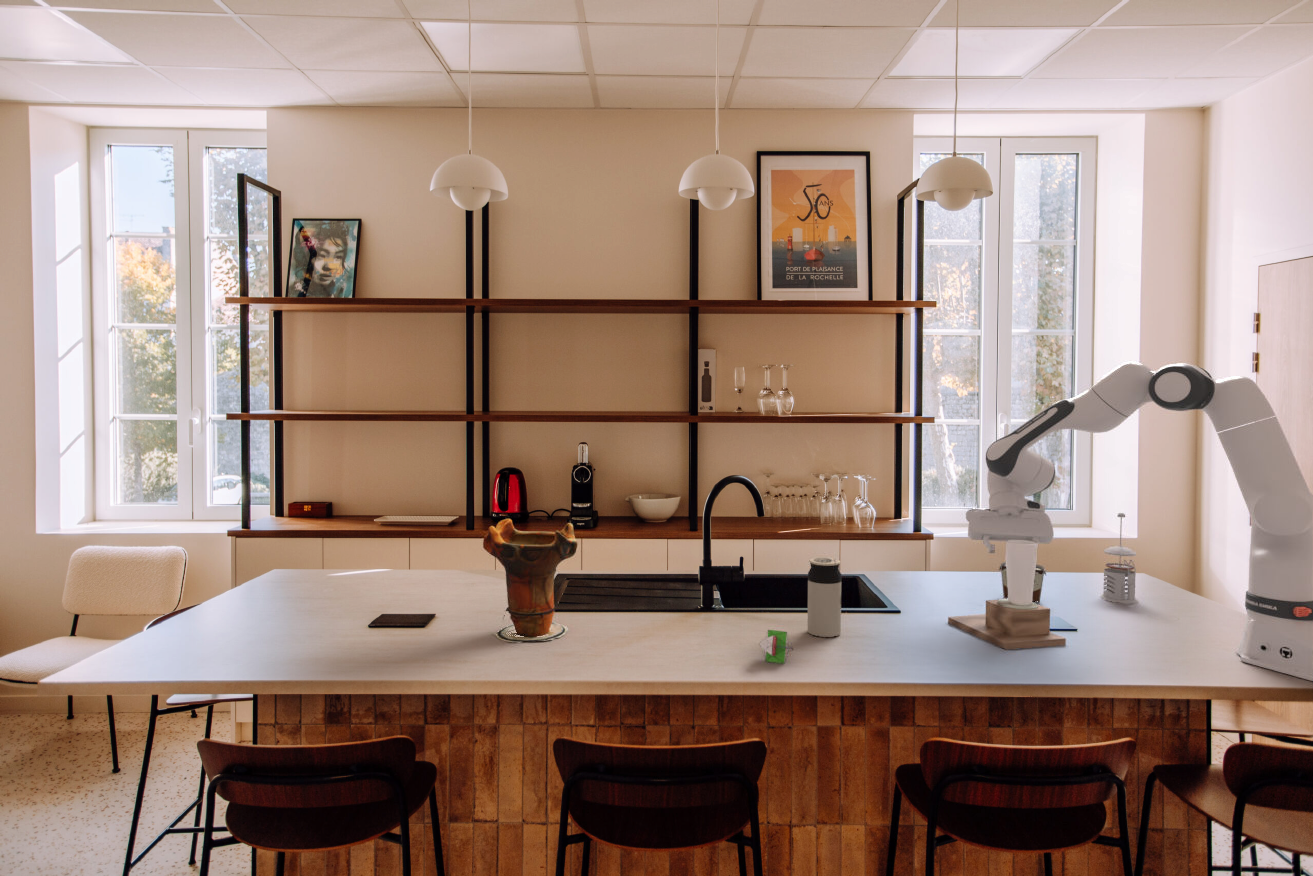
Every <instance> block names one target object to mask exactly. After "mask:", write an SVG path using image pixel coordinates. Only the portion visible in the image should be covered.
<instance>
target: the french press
mask: <svg viewBox="0 0 1313 876" xmlns="http://www.w3.org/2000/svg"><path fill="white" fill-rule="evenodd" d="M1117 517H1118V518H1120V528H1119V529H1120V531H1119V533H1120V534H1119V535H1120V536H1119V545H1117V546H1111V547H1107V548H1106V549H1104V550H1103V552H1104V553H1105V554H1107V555H1111V556H1118V557H1119V562H1118V563H1117V562H1115V563H1114V562H1108V563H1106V564H1105V567H1107V568H1104V569H1103V577H1104V578H1103V581H1104V582H1103V593H1102V594H1101V595H1099V598H1100V599H1101V598H1102V599H1101V600H1103V599H1104V601H1106V600H1108V602H1111V601H1112V602H1111V603H1116V602H1119V603H1118V604H1127V603H1131V604H1138V603H1139V602H1140V601H1139V600H1138V598H1136V573H1137V572H1136V567H1135V564H1134V561H1133V559H1129V563H1128V562H1127V560H1126V559H1123V563H1121V558H1122V557H1134V556H1136V555H1137V554H1138V552H1136V551H1135V550H1133V549H1131V548H1129V547H1126V546H1123V545H1122V526H1123V524H1122V523H1123V521H1122V518H1126V514H1125V512H1123V513H1122V512H1119V513H1117ZM1131 563H1132V565H1131ZM1133 570H1134V571H1133Z"/></svg>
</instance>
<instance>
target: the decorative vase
mask: <svg viewBox="0 0 1313 876" xmlns="http://www.w3.org/2000/svg"><path fill="white" fill-rule="evenodd" d="M578 543H579V542H578V540H577V539H576V536H575V531H574V525H573V523H571V522H567V523H566V524H565V526H564V527H563V528H562V529H561V530H560V531H559V530H555V531H522V530H518V529H516V528H515V526H514V524H513V520H512V519H511V518H505V519H502V520H500V521H498V523H497V524H496V526H493V525H491V526H489V527H488V533H487V534H486V535H484V536H483V540H482V546H483V547H482V548H483V549H484V550H485V551H486V552H487V553H488V554H490V556H492V557H494V558H495V559H497V560H498V561H499V563H500V564H501V565H502V566H503V568H504V571H505V584H506V594H507V596H506V597H507V606H508V607H507V608H506V609H505V610H504V612H508V613H509V615H510V616H509V618H510V620H511V621H512V624H513V625H511V624H508V625H507V626H508V627H506V626H503V627H504V628H503V627H502V628H503V629H502V628H501V629H502V630H500V629H498V631H499V632H496V631H495V632H494V633H493V635H495V637H496V638H497V639H499V640H500V641H503V642H508V643H518V644H521V643H523V642H528V641H529V642H536V641H538V642H539V641H540V642H541V641H543V642H544V641H545V642H546V641H553V640H554V639H557V638H558V639H559V638H562V637H563V636H565V635H566V633H568V632H569V630H570V629H569V628H568V627H567V625H562V624H559V623H558V622H554V621H553V618H554V614H555V611H556V605H555V599H554V595H555V594H554V586H555V575H556V572H557V567H558V566H559V564H560V563H561V562H564V561H565V560H567V559H570V558H572V557H574V555H576V554H577V553H576V552H577V548H578ZM505 616H506V615H505V614H503V618H502V622H503V621H504V618H505ZM514 627H515V630H516V632H517V633H512V632H511V631H514V630H511V631H510V630H509V629H510V628H514ZM551 629H552V631H550V630H551ZM508 630H509V631H508ZM507 632H508V633H509V632H511V634H510V633H509V634H510V635H511V636H510V635H509V634H508V633H507ZM506 633H507V634H508V635H509V636H508V635H507V634H506ZM496 634H497V635H496ZM515 634H516V635H520V636H524V637H515V636H516V635H515ZM546 634H548V635H549V636H547V635H546ZM512 635H513V636H512ZM514 635H515V636H514ZM543 635H546V636H545V637H537V636H543Z"/></svg>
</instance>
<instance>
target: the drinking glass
mask: <svg viewBox="0 0 1313 876" xmlns="http://www.w3.org/2000/svg"><path fill="white" fill-rule="evenodd" d="M1005 544H1006V545H1005V562H1006V571H1007V585H1008V601H1009V602H1010V603H1011V604H1015V605H1021V606H1027V605H1031V604H1032V596H1033V586H1034V578H1035V569H1036V564H1037V556H1038V554H1037V553H1038V552H1037V551H1038V550H1037V549H1038V547H1037V544H1036V543H1035V542H1032V541H1026V540H1008V541H1005Z"/></svg>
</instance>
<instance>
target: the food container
mask: <svg viewBox="0 0 1313 876" xmlns="http://www.w3.org/2000/svg"><path fill="white" fill-rule="evenodd" d="M998 571H1000V573H1001V574H1000V575H1001V582H1002V583H1001V585H1002V594H1003V599H1006V598H1008V585H1007V571H1006V561H1004V562H1001V563H1000V564H999V568H998ZM1044 576H1047V571H1046V569H1045V567H1044V566H1043V565H1040V564H1037V563H1036V569H1035V578H1034V586H1033V596H1032V601H1038V602H1041V596H1042V591H1043V590H1042V589H1043V582H1044ZM1038 602H1037V603H1038Z"/></svg>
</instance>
